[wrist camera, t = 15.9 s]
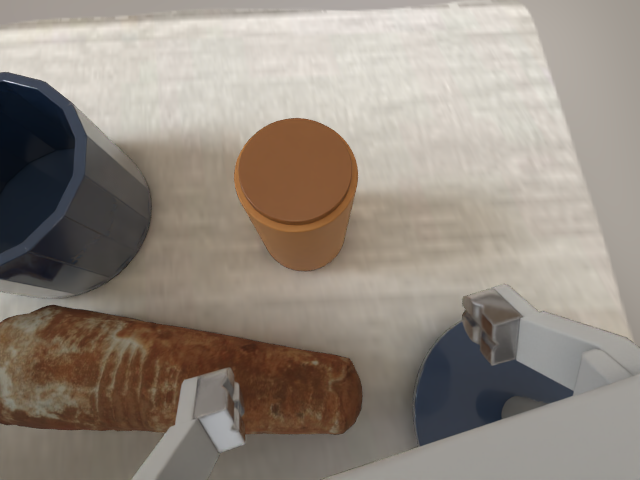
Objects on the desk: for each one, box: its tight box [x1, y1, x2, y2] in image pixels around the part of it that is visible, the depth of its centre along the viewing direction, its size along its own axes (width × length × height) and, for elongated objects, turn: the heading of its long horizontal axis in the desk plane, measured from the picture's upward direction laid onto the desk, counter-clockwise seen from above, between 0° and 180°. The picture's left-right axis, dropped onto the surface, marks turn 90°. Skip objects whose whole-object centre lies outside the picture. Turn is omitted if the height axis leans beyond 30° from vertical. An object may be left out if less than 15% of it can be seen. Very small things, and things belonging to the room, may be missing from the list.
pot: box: [0, 72, 151, 298], centre depth 22 cm, size 11×11×8 cm
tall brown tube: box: [234, 118, 358, 271], centre depth 21 cm, size 6×6×10 cm
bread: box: [0, 305, 362, 435], centre depth 20 cm, size 6×19×6 cm, turn 82°
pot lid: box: [413, 321, 574, 447], centre depth 20 cm, size 12×12×5 cm
